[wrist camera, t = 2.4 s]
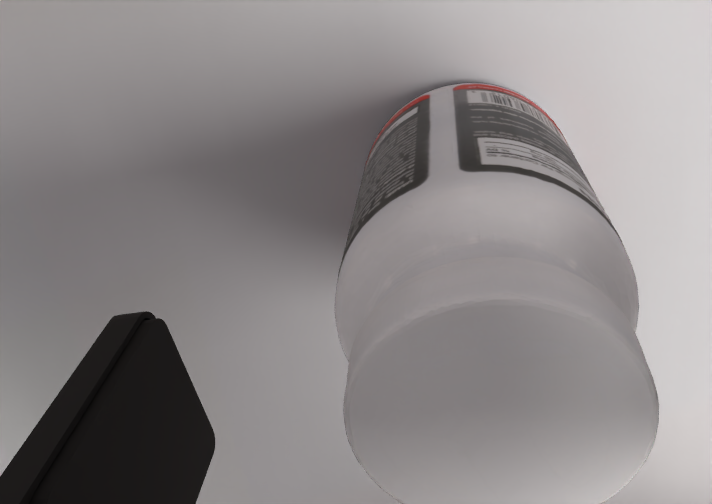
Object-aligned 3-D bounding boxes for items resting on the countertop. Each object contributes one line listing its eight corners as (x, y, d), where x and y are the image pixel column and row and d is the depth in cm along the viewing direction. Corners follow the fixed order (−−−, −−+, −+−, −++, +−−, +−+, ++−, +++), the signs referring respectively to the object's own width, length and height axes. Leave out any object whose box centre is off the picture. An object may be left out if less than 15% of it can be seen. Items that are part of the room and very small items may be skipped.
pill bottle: (406, 284, 20) (382, 573, 11) (336, 120, 18) (237, 330, 9) (590, 231, 18) (724, 520, 10) (540, 43, 16) (656, 209, 7)
